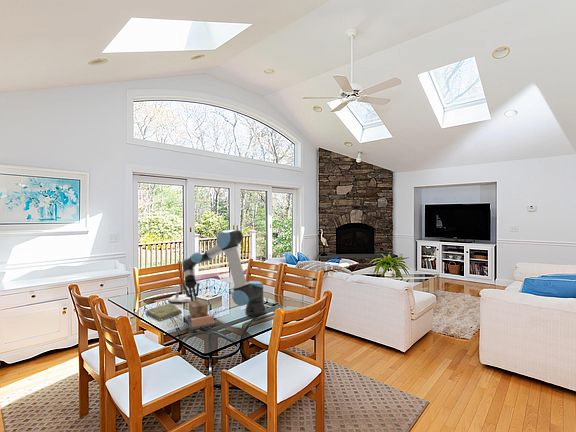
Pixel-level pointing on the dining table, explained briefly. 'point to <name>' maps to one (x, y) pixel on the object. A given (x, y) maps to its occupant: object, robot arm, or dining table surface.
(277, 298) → the dining table surface
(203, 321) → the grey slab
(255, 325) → the dining table surface
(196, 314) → the oak block
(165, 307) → the decorative tile
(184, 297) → the figurine
